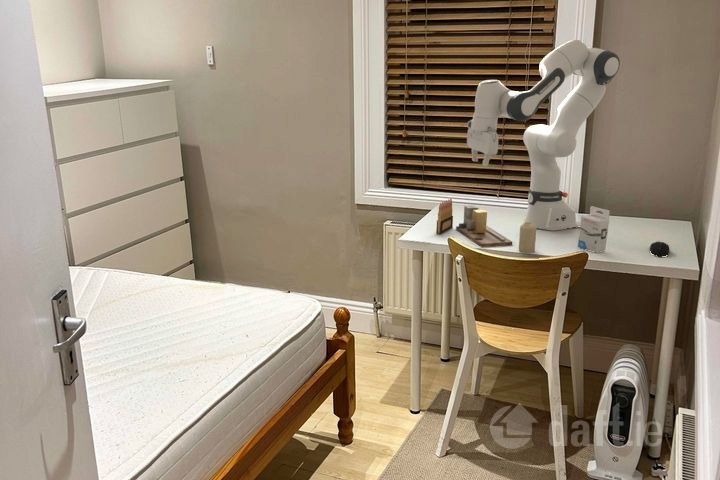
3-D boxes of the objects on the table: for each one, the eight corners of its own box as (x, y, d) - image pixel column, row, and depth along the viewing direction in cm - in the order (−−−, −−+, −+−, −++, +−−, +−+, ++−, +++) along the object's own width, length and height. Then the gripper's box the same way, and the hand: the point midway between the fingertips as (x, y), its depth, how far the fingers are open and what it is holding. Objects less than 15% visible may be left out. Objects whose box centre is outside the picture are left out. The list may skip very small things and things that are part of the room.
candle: (524, 253, 237) (527, 225, 234) (515, 249, 242) (517, 221, 239) (537, 251, 239) (540, 224, 236) (528, 247, 244) (530, 220, 241)
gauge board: (484, 227, 269) (486, 204, 266) (512, 244, 246) (514, 220, 244) (455, 229, 266) (457, 206, 263) (481, 247, 244) (482, 222, 241)
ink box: (576, 247, 244) (581, 207, 240) (586, 245, 247) (590, 205, 243) (596, 253, 237) (601, 212, 233) (605, 251, 240) (610, 210, 236)
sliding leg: (481, 229, 260) (482, 209, 257) (485, 232, 256) (487, 212, 254) (465, 230, 258) (466, 210, 256) (469, 233, 254) (470, 212, 252)
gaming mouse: (648, 259, 233) (650, 248, 232) (649, 247, 246) (651, 237, 245) (668, 262, 231) (670, 250, 230) (668, 250, 244) (670, 239, 243)
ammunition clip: (440, 234, 259) (441, 203, 256) (436, 233, 260) (437, 202, 256) (452, 228, 268) (454, 198, 264) (448, 227, 269) (449, 197, 265)
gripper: (504, 129, 240) (499, 168, 243) (481, 122, 259) (477, 159, 262) (488, 128, 238) (483, 168, 242) (465, 121, 257) (461, 158, 261)
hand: (479, 163), depth 252 cm, fingers open, 8 cm apart
